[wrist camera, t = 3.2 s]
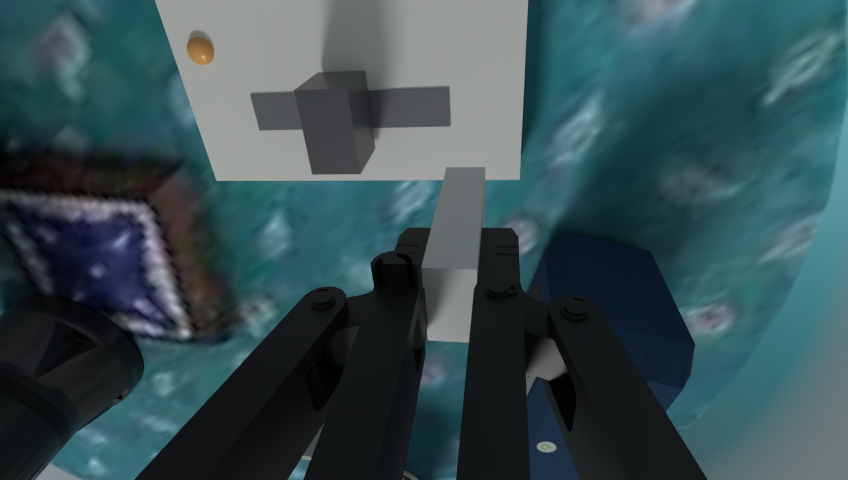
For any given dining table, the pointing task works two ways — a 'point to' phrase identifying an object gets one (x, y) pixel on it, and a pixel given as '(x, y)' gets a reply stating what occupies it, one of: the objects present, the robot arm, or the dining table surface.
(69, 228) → the dining table surface
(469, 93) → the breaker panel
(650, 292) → the radio
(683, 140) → the dining table surface
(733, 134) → the dining table surface
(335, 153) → the block
